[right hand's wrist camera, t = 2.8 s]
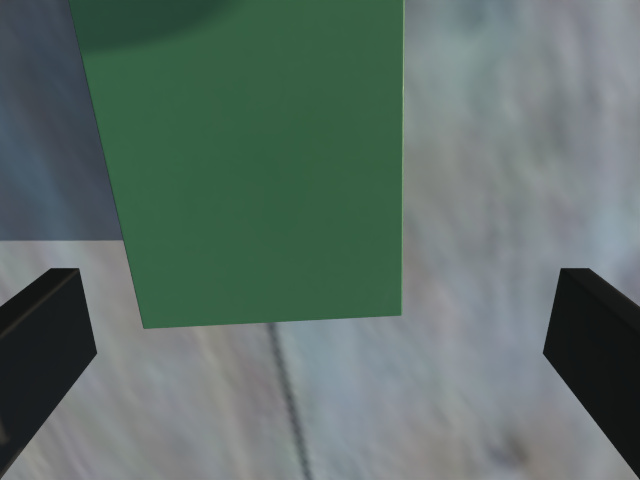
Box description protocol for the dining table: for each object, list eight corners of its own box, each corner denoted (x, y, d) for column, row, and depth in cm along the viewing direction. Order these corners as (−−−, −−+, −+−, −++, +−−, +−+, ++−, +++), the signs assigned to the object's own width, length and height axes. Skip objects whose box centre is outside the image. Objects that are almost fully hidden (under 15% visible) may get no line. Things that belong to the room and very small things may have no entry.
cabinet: (158, -28, 24) (45, -96, 14) (369, -43, 24) (405, -121, 14) (202, 240, 29) (143, 329, 19) (374, 231, 29) (402, 316, 19)
